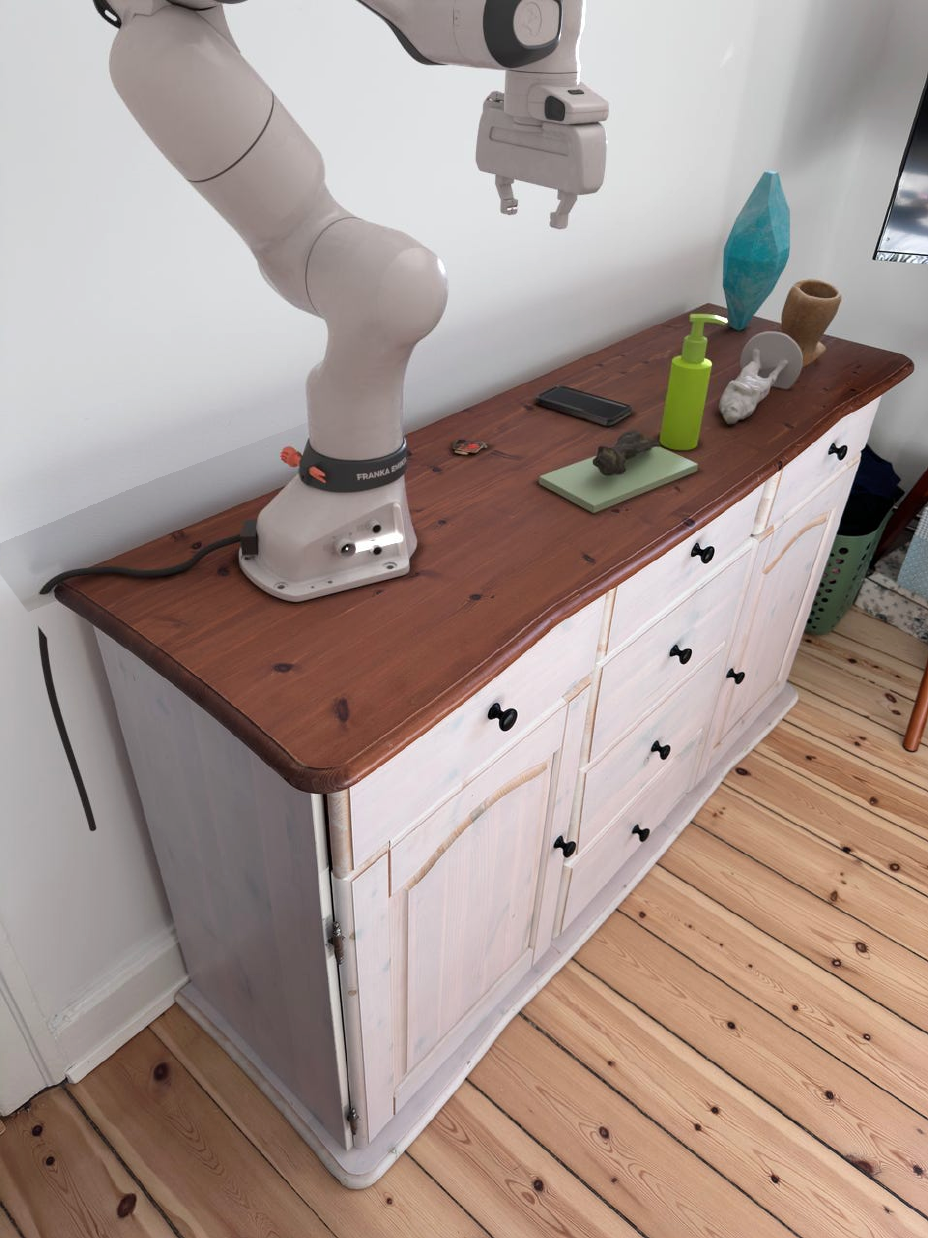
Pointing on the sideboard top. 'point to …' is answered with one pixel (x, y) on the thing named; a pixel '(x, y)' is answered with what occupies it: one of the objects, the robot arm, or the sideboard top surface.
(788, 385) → the male figure
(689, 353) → the soap dispenser
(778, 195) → the crystal
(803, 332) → the stone cup
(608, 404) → the phone
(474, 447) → the matchbox
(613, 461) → the statue
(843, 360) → the sideboard top surface
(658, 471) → the board
